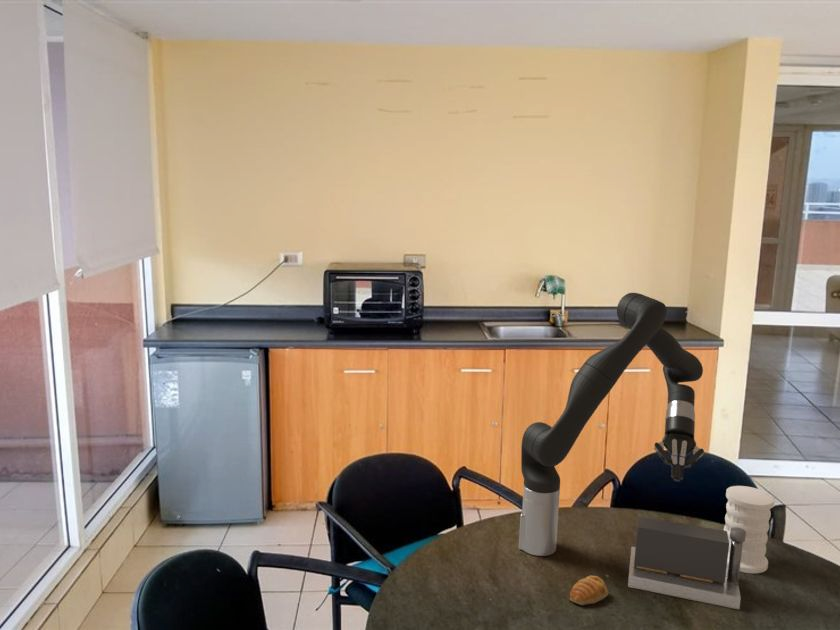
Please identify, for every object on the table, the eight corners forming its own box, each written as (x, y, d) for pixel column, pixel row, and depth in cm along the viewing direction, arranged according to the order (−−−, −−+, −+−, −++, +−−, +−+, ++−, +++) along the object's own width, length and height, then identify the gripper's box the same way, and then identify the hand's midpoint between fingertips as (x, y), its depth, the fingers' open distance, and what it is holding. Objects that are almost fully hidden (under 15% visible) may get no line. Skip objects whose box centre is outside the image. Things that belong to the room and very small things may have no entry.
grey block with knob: (634, 565, 159) (638, 519, 157) (635, 553, 165) (638, 508, 163) (741, 586, 152) (747, 538, 150) (739, 572, 157) (744, 526, 155)
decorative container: (756, 579, 161) (765, 510, 158) (709, 559, 170) (716, 493, 166) (775, 562, 169) (783, 496, 166) (729, 544, 177) (736, 481, 174)
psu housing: (627, 586, 157) (632, 536, 154) (630, 557, 170) (634, 510, 167) (740, 609, 149) (746, 556, 146) (733, 577, 162) (739, 527, 159)
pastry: (586, 612, 147) (587, 596, 146) (561, 598, 152) (562, 583, 151) (610, 596, 153) (611, 581, 152) (585, 583, 158) (586, 569, 157)
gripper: (655, 411, 181) (651, 470, 172) (707, 417, 177) (706, 478, 168) (653, 424, 187) (649, 481, 178) (704, 430, 183) (702, 489, 174)
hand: (677, 480), depth 173 cm, fingers closed
